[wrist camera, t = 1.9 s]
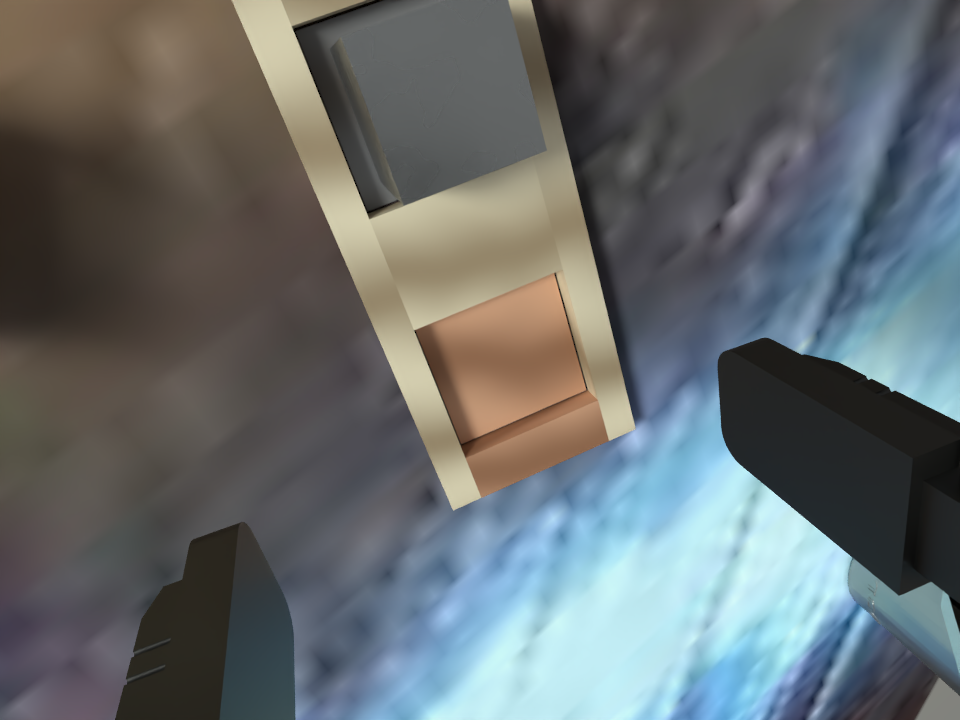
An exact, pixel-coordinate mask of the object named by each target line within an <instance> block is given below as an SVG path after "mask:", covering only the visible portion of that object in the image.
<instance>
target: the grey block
mask: <svg viewBox="0 0 960 720" xmlns="http://www.w3.org/2000/svg"><path fill="white" fill-rule="evenodd" d="M329 50H330V52H331V55H332V57H333V60H334V63H335V65H336V68H337V71H338V73H339V76H340V78H341V81H342V84H343V86H344V89H345V91H346V94H347V97H348V99H349V102H350V104H351V107H352V110H353V112H354V115H355V117H356V120H357V123H358V125H359V128H360V130H361V133H362V136H363V138H364V141H365V143H366V146H367V149H368V151H369V154H370V156H371V159H372V162H373V164H374V167H375V170H376V172H377V175H378V177H379V180H380V182H381V183H382V184H383V185H384V186H385V187H386V188H387V189H388V190H389V191H390V192H391V193H392V194H393V195H394V196H395V197H396V198H397V199H398V200H399V201H400V202H401V203H402V205H403V206H405V205H407V204H410V203H413V202H415V201H418V200H420V199H423V198H426V197H428V196H431V195H433V194H436V193H438V192H441V191H444V190H446V189H449V188H451V187H454V186H457V185H459V184H462V183H464V182H467V181H470V180H472V179H475V178H477V177H480V176H482V175H485V174H488V173H490V172H493V171H495V170H498V169H501V168H503V167H506V166H508V165H511V164H514V163H516V162H519V161H521V160H524V159H526V158H529V157H532V156H534V155H537V154H539V153H542V152H545V151H547V149H546V145H545V141H544V137H543V133H542V129H541V125H540V121H539V118H538V114H537V110H536V106H535V102H534V98H533V94H532V90H531V87H530V83H529V79H528V75H527V71H526V67H525V63H524V59H523V56H522V52H521V48H520V44H519V40H518V36H517V32H516V28H515V25H514V21H513V17H512V13H511V9H510V5H509V1H508V0H444V1H441V2H438V3H436V4H433V5H430V6H427V7H424V8H421V9H419V10H416V11H413V12H410V13H407V14H404V15H401V16H399V17H396V18H393V19H390V20H387V21H384V22H382V23H379V24H376V25H373V26H370V27H367V28H364V29H362V30H359V31H356V32H353V33H350V34H347V35H345V36H342V37H340V38H339V39H338V40H337V42H336V43H335V44H334V45H333V46H332V47H331V48H330V49H329Z"/></svg>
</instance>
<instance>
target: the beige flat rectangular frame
mask: <svg viewBox="0 0 960 720" xmlns="http://www.w3.org/2000/svg"><path fill="white" fill-rule="evenodd" d="M372 1H375V0H232V2H233V4H234V6H235V8H236V11H237V13H238V15H239V18H240V20H241V22H242V25H243V27H244V29H245V32H246V34H247V36H248V38H249V41H250V43H251V45H252V48H253V50H254V52H255V55H256V57H257V59H258V61H259V64H260V66H261V68H262V71H263V73H264V75H265V78H266V80H267V82H268V85H269V87H270V89H271V91H272V94H273V96H274V98H275V101H276V103H277V105H278V108H279V110H280V112H281V114H282V117H283V119H284V121H285V124H286V126H287V128H288V131H289V133H290V135H291V138H292V140H293V142H294V144H295V147H296V149H297V151H298V154H299V156H300V158H301V161H302V163H303V165H304V168H305V170H306V172H307V174H308V177H309V179H310V181H311V184H312V186H313V188H314V191H315V193H316V195H317V197H318V200H319V202H320V204H321V207H322V209H323V211H324V214H325V216H326V218H327V221H328V223H329V225H330V227H331V230H332V232H333V234H334V237H335V239H336V241H337V244H338V246H339V248H340V250H341V253H342V255H343V257H344V260H345V262H346V264H347V267H348V269H349V271H350V274H351V276H352V278H353V280H354V283H355V285H356V287H357V290H358V292H359V294H360V297H361V299H362V301H363V303H364V306H365V308H366V310H367V313H368V315H369V317H370V320H371V322H372V324H373V327H374V329H375V331H376V333H377V336H378V338H379V340H380V343H381V345H382V347H383V350H384V352H385V354H386V357H387V359H388V361H389V363H390V366H391V368H392V370H393V373H394V375H395V377H396V380H397V382H398V384H399V386H400V389H401V391H402V393H403V396H404V398H405V400H406V403H407V405H408V407H409V410H410V412H411V414H412V416H413V419H414V421H415V423H416V426H417V428H418V430H419V433H420V435H421V437H422V439H423V442H424V444H425V446H426V449H427V451H428V453H429V456H430V458H431V460H432V463H433V465H434V467H435V469H436V472H437V474H438V476H439V479H440V481H441V483H442V486H443V488H444V490H445V493H446V495H447V497H448V499H449V502H450V504H451V506H452V509H453V510H455V509H457V508H460V507H462V506H464V505H466V504H469V503H471V502H473V501H475V500H478V499H480V498H482V497H484V496H487V495H489V494H491V493H493V492H496V491H498V490H500V489H502V488H505V487H507V486H509V485H511V484H513V483H516V482H518V481H520V480H522V479H525V478H527V477H529V476H531V475H534V474H536V473H538V472H540V471H543V470H545V469H547V468H549V467H552V466H554V465H556V464H558V463H561V462H563V461H565V460H567V459H569V458H572V457H574V456H576V455H578V454H581V453H583V452H585V451H587V450H590V449H592V448H594V447H596V446H599V445H601V444H603V443H605V442H608V441H610V440H612V439H614V438H617V437H619V436H621V435H623V434H625V433H628V432H630V431H632V430H634V429H635V424H634V420H633V416H632V412H631V408H630V404H629V400H628V396H627V392H626V388H625V383H624V379H623V375H622V371H621V367H620V363H619V359H618V355H617V351H616V346H615V342H614V338H613V334H612V330H611V326H610V322H609V318H608V314H607V309H606V305H605V301H604V297H603V293H602V289H601V285H600V281H599V277H598V273H597V268H596V264H595V260H594V256H593V252H592V248H591V244H590V240H589V236H588V231H587V227H586V223H585V219H584V215H583V211H582V207H581V203H580V199H579V194H578V190H577V186H576V182H575V178H574V174H573V170H572V166H571V162H570V158H569V153H568V149H567V145H566V141H565V137H564V133H563V129H562V125H561V121H560V116H559V112H558V108H557V104H556V100H555V96H554V92H553V88H552V84H551V79H550V75H549V71H548V67H547V63H546V59H545V55H544V51H543V47H542V43H541V38H540V34H539V30H538V26H537V22H536V18H535V14H534V10H533V6H532V1H531V0H508V1H509V5H510V9H511V13H512V17H513V21H514V25H515V28H516V32H517V36H518V40H519V44H520V48H521V52H522V56H523V59H524V63H525V67H526V71H527V75H528V79H529V83H530V87H531V90H532V94H533V98H534V102H535V106H536V110H537V114H538V118H539V121H540V125H541V129H542V133H543V137H544V141H545V145H546V149H547V151H545V152H542V153H539V154H537V155H534V156H532V157H529V158H526V159H524V160H521V161H519V162H516V163H514V164H511V165H508V166H506V167H503V168H501V169H498V170H495V171H493V172H490V173H488V174H485V175H482V176H480V177H477V178H475V179H472V180H470V181H467V182H464V183H462V184H459V185H457V186H454V187H451V188H449V189H446V190H444V191H441V192H438V193H436V194H433V195H431V196H428V197H426V198H423V199H420V200H418V201H415V202H413V203H410V204H407V205H405V206H403V205H402V203H401V202H400V201H399V202H397V203H394V204H391V205H389V206H386V207H384V208H381V209H379V210H376V211H373V212H371V213H368V214H367V212H366V210H365V207H364V205H363V202H362V200H361V197H360V195H359V192H358V190H357V188H356V185H355V183H354V180H353V178H352V175H351V173H350V170H349V168H348V165H347V163H346V160H345V158H344V155H343V153H342V150H341V148H340V145H339V143H338V140H337V138H336V135H335V133H334V130H333V128H332V125H331V123H330V120H329V118H328V115H327V113H326V111H325V108H324V106H323V103H322V101H321V98H320V96H319V93H318V91H317V88H316V86H315V83H314V81H313V78H312V76H311V73H310V71H309V68H308V66H307V63H306V61H305V58H304V56H303V53H302V51H301V48H300V46H299V43H298V41H297V38H296V36H295V33H294V31H293V29H294V28H297V27H300V26H302V25H305V24H308V23H311V22H314V21H317V20H320V19H323V18H325V17H328V16H331V15H334V14H337V13H340V12H343V11H346V10H349V9H351V8H354V7H357V6H360V5H363V4H366V3H369V2H372ZM441 1H444V0H384V1H381V2H378V3H375V4H372V5H369V6H366V7H363V8H361V9H358V10H355V11H352V12H349V13H346V14H343V15H340V16H337V17H335V18H332V19H329V20H326V21H323V22H320V23H317V24H314V25H312V26H309V27H306V28H303V29H300V30H297V31H295V32H296V34H297V37H298V39H299V42H300V44H301V47H302V49H303V52H304V54H305V56H306V59H307V61H308V64H309V66H310V69H311V71H312V74H313V76H314V79H315V81H316V84H317V86H318V89H319V91H320V94H321V96H322V99H323V101H324V104H325V106H326V109H327V111H328V114H329V116H330V119H331V121H332V124H333V126H334V129H335V131H336V134H337V136H338V139H339V141H340V144H341V146H342V149H343V151H344V154H345V156H346V159H347V161H348V164H349V166H350V169H351V171H352V174H353V176H354V179H355V181H356V184H357V186H358V189H359V191H360V194H361V196H362V198H363V201H364V203H365V206H366V208H367V211H370V210H373V209H375V208H378V207H381V206H383V205H386V204H388V203H391V202H394V201H396V200H398V199H397V198H396V197H395V196H394V195H393V194H392V193H391V192H390V191H389V190H388V189H387V188H386V187H385V186H384V185H383V184H382V183H381V182H380V180H379V177H378V175H377V172H376V170H375V167H374V164H373V162H372V159H371V156H370V154H369V151H368V149H367V146H366V143H365V141H364V138H363V136H362V133H361V130H360V128H359V125H358V123H357V120H356V117H355V115H354V112H353V110H352V107H351V104H350V102H349V99H348V97H347V94H346V91H345V89H344V86H343V84H342V81H341V78H340V76H339V73H338V71H337V68H336V65H335V63H334V60H333V57H332V55H331V52H330V50H329V49H330V48H331V47H332V46H333V45H334V44H335V43H336V42H337V40H338V39H339V38H340V37H342V36H345V35H347V34H350V33H353V32H356V31H359V30H362V29H364V28H367V27H370V26H373V25H376V24H379V23H382V22H384V21H387V20H390V19H393V18H396V17H399V16H401V15H404V14H407V13H410V12H413V11H416V10H419V9H421V8H424V7H427V6H430V5H433V4H436V3H438V2H441ZM554 273H556V276H557V280H558V283H559V287H560V291H561V294H562V298H563V302H564V305H565V309H566V313H567V316H568V320H569V323H570V327H571V331H572V334H573V338H574V342H575V345H576V349H577V352H578V356H579V360H580V363H581V367H582V371H583V374H584V378H585V381H586V385H587V389H588V390H587V391H585V390H586V387H585V383H584V379H583V376H582V372H581V368H580V365H579V361H578V358H577V354H576V350H575V347H574V343H573V340H572V336H571V332H570V329H569V325H568V322H567V318H566V314H565V311H564V307H563V304H562V300H561V296H560V293H559V289H558V285H557V282H556V278H555V275H554ZM414 330H415V331H416V333H417V336H418V338H419V340H420V343H421V345H422V348H423V350H424V353H425V355H426V358H427V360H428V363H429V365H430V368H431V370H432V373H433V375H434V378H435V380H436V383H437V385H438V388H439V390H440V393H441V395H442V398H443V400H444V403H445V405H446V408H447V410H448V413H449V415H450V418H451V420H452V423H453V425H454V428H455V430H456V433H457V435H458V438H459V440H460V443H461V444H462V445H460V443H459V441H458V438H457V436H456V433H455V431H454V428H453V426H452V423H451V421H450V419H449V416H448V414H447V411H446V409H445V406H444V404H443V401H442V399H441V396H440V394H439V391H438V389H437V386H436V384H435V381H434V379H433V376H432V374H431V371H430V369H429V366H428V364H427V361H426V359H425V356H424V354H423V351H422V349H421V346H420V344H419V342H418V339H417V337H416V334H415V332H414ZM583 391H584V392H583ZM581 392H582V393H581ZM578 393H580V394H578ZM576 394H577V395H576ZM574 395H575V396H574ZM571 396H573V397H571ZM569 397H571V398H569ZM567 398H568V399H567ZM564 399H566V400H564ZM562 400H564V401H562ZM560 401H561V402H560ZM558 402H559V403H558ZM555 403H557V404H555ZM553 404H554V405H553ZM551 405H552V406H551ZM548 406H550V407H548ZM546 407H548V408H546ZM544 408H545V409H544ZM541 409H543V410H541ZM539 410H541V411H539ZM537 411H538V412H537ZM535 412H536V413H535ZM532 413H534V414H532ZM530 414H531V415H530ZM528 415H529V416H528ZM525 416H527V417H525ZM523 417H525V418H523ZM521 418H522V419H521ZM518 419H520V420H518ZM516 420H518V421H516ZM514 421H515V422H514ZM512 422H513V423H512ZM509 423H511V424H509ZM507 424H508V425H507ZM505 425H506V426H505ZM502 426H504V427H502ZM500 427H502V428H500ZM498 428H499V429H498ZM495 429H497V430H495ZM493 430H495V431H493ZM491 431H492V432H491ZM489 432H490V433H489ZM486 433H488V434H486ZM484 434H485V435H484ZM482 435H483V436H482ZM479 436H481V437H479ZM477 437H479V438H477ZM475 438H476V439H475ZM472 439H474V440H472ZM470 440H472V441H470ZM468 441H469V442H468ZM466 442H467V443H466ZM463 443H465V444H463Z"/></svg>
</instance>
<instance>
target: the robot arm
mask: <svg viewBox="0 0 960 720" xmlns="http://www.w3.org/2000/svg"><path fill="white" fill-rule="evenodd" d="M718 381H719V397H720V412H721V428H722V434H723V438H724V441H725V443H726V446H727V448H728V449H729V451H730V453H731V454H732V456H733V457H734V459H735V460H736V461H737V462H738V463H739V464H740V465H741V466H743V467H744V468H745V469H746V470H747V471H749V472H750V473H751V474H752V475H753V476H755V477H756V478H757V479H758V480H760V481H761V482H762V483H763V484H764V485H766V486H767V487H768V488H769V489H770V490H772V491H773V492H774V493H775V494H776V495H778V496H779V497H780V498H781V499H782V500H784V501H785V502H786V503H787V504H789V505H790V506H791V507H792V508H793V509H795V510H796V511H797V512H798V513H799V514H801V515H802V516H803V517H804V518H805V519H807V520H808V521H809V522H810V523H811V524H813V525H814V526H815V527H816V528H817V529H819V530H820V531H821V532H822V533H824V534H825V535H826V536H827V537H828V538H830V539H831V540H832V541H833V542H834V543H836V544H837V545H838V546H839V547H840V548H842V549H843V550H844V551H845V552H846V553H848V554H849V555H850V556H851V557H853V560H852V563H851V566H850V570H849V575H848V586H849V591H850V594H851V596H852V597H853V599H854V600H855V601H856V602H857V603H858V604H859V605H860V606H861V607H862V608H864V609H865V610H866V611H867V612H868V613H869V614H870V615H871V616H872V617H873V619H874V620H876V621H877V622H878V623H879V624H881V625H882V626H883V627H884V628H886V629H887V630H888V631H889V632H890V633H891V634H892V635H893V636H894V637H895V638H897V639H898V640H899V641H900V642H901V643H902V644H903V645H904V646H905V647H906V648H907V649H908V650H910V651H911V652H912V653H913V654H914V655H915V656H916V657H917V658H918V659H920V660H921V661H922V662H923V663H924V664H925V665H926V666H927V667H928V668H929V669H931V670H932V671H933V672H934V673H935V674H936V675H937V676H938V677H939V678H941V679H942V680H943V681H944V682H945V683H946V684H947V685H948V686H950V687H951V688H952V689H953V690H954V691H955V692H956V693H957V694H958V695H959V696H960V423H959V422H957V421H955V420H953V419H951V418H949V417H947V416H945V415H943V414H941V413H939V412H937V411H935V410H933V409H931V408H929V407H927V406H925V405H923V404H921V403H919V402H917V401H915V400H913V399H911V398H909V397H907V396H905V395H903V394H901V393H899V392H897V391H893V392H891V391H890V389H889V387H887V386H885V385H883V384H881V383H879V382H877V381H875V380H873V379H870V380H868V379H867V378H866V376H865V375H863V374H861V373H859V372H857V371H855V370H853V369H851V368H849V367H847V366H845V365H843V364H841V363H839V362H835V361H831V360H826V359H822V358H818V357H813V356H809V355H805V354H804V355H801V354H799V353H797V352H795V351H793V350H791V349H789V348H787V347H785V346H784V345H782V344H780V343H778V342H776V341H774V340H772V339H769V338H761V339H758V340H755V341H753V342H750V343H747V344H744V345H741V346H739V347H736V348H733V349H730V350H727V351H725V352H723V353H722V354H721V355H720V357H719V359H718ZM133 652H134V657H132V658H131V661H130V665H129V669H128V673H127V676H126V680H127V685H124V688H123V692H122V695H121V699H120V703H119V707H118V711H117V714H116V718H115V720H295V678H294V634H293V626H292V620H291V616H290V612H289V608H288V605H287V602H286V599H285V597H284V594H283V592H282V590H281V588H280V586H279V584H278V582H277V580H276V578H275V576H274V574H273V572H272V570H271V568H270V566H269V564H268V562H267V560H266V558H265V556H264V554H263V552H262V550H261V548H260V546H259V544H258V542H257V540H256V538H255V536H254V534H253V533H252V531H251V529H250V528H249V526H248V525H247V524H246V523H244V522H241V523H238V524H235V525H232V526H230V527H227V528H224V529H221V530H218V531H216V532H213V533H210V534H207V535H204V536H202V537H199V538H196V539H193V540H192V541H191V543H190V545H189V550H188V554H187V559H186V564H185V569H184V574H183V579H182V580H180V581H178V582H175V583H172V584H170V585H167V586H164V587H163V588H162V590H161V591H160V593H159V594H158V596H157V597H156V599H155V600H154V602H153V603H152V605H151V606H150V607H149V609H148V610H147V612H146V613H145V615H144V616H143V618H142V620H141V623H140V627H139V631H138V635H137V639H136V642H135V646H134V650H133Z"/></svg>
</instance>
